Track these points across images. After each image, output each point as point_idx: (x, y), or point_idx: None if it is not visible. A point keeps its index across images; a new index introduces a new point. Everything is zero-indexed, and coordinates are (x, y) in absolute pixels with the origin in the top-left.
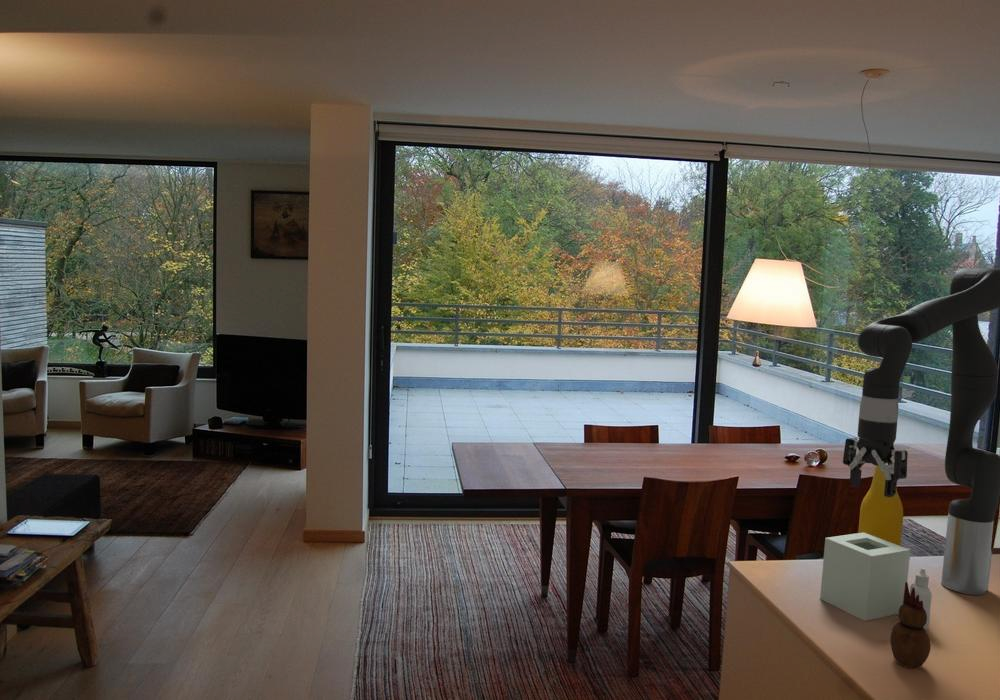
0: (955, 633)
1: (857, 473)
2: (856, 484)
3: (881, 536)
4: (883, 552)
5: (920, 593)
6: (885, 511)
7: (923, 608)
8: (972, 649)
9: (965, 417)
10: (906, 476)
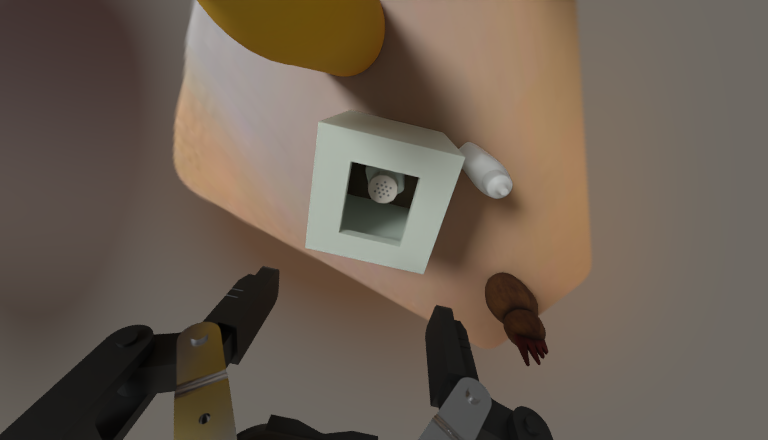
0: (529, 143)
1: (247, 333)
2: (274, 292)
3: (343, 58)
4: (429, 232)
5: (495, 198)
6: (326, 41)
7: (545, 343)
8: (560, 180)
9: None
10: (547, 428)
